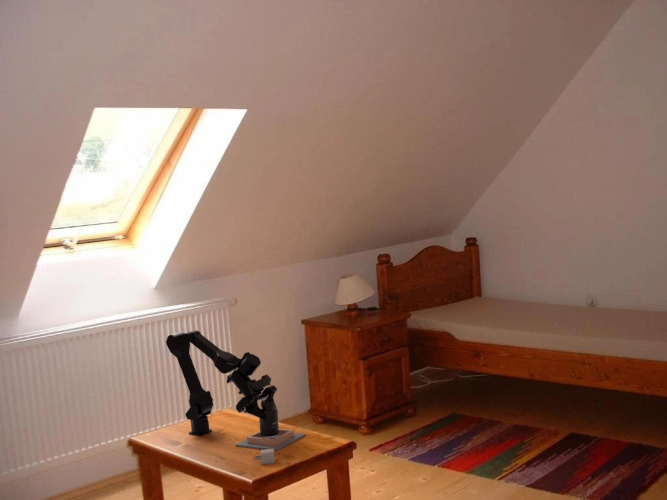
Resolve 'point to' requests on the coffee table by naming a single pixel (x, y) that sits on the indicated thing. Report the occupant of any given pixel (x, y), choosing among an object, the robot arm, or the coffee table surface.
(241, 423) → the coffee table surface
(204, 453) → the coffee table surface
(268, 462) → the usb wall charger
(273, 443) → the dock tray
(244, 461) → the coffee table surface
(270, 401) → the supplement bottle
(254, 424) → the coffee table surface
